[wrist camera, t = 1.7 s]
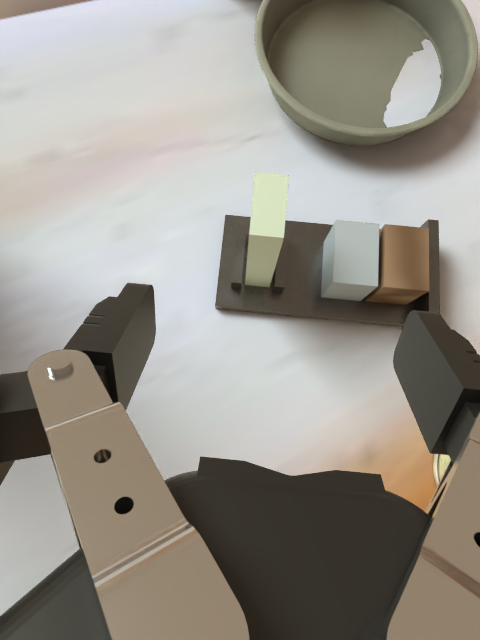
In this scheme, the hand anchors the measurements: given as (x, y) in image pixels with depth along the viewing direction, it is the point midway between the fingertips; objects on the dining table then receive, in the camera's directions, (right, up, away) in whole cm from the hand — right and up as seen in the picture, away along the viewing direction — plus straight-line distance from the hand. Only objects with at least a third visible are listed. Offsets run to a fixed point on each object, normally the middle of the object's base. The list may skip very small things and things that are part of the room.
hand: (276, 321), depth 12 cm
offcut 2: (+14, +5, +27) cm, 31 cm away
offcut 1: (+9, +5, +27) cm, 30 cm away
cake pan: (+13, +30, +34) cm, 48 cm away
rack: (+7, +5, +29) cm, 30 cm away
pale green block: (+1, +6, +28) cm, 28 cm away
